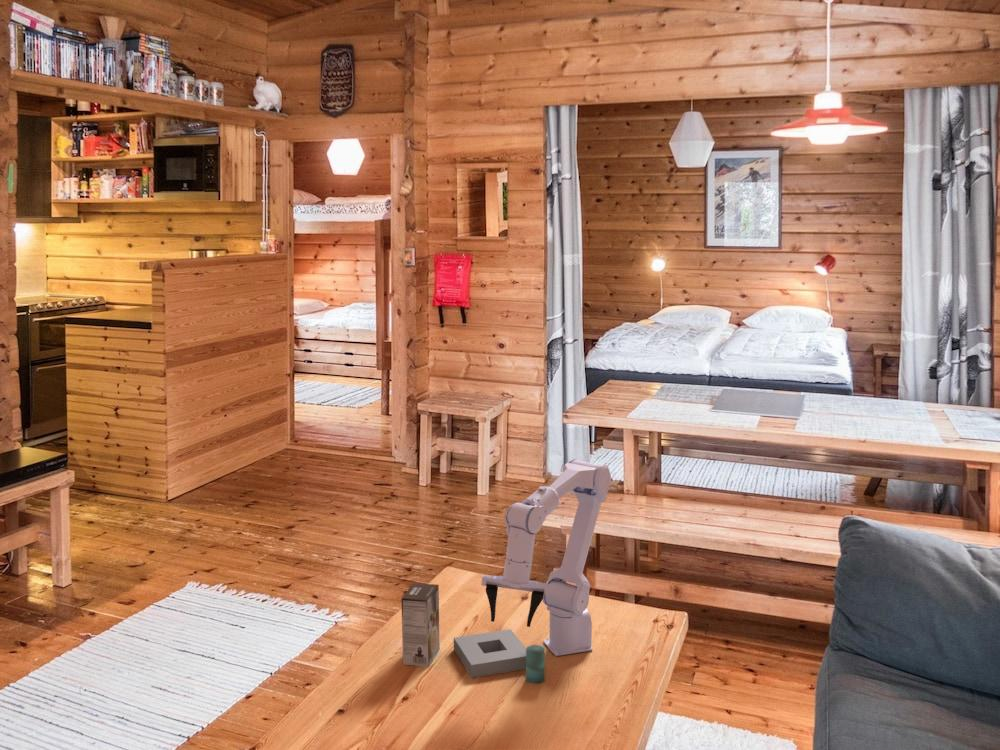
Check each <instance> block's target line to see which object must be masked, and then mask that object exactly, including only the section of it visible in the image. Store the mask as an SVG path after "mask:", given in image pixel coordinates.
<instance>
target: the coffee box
mask: <svg viewBox="0 0 1000 750" xmlns="http://www.w3.org/2000/svg"><path fill="white" fill-rule="evenodd" d="M439 586H440V584H434V583H433V584H431V583H430V584H429V583H415V582H413V583H411V585H410V586H409V587H408V589H407V590H406V592H405V593H404V594H403V596H402V597H401V598H400V600H401V635H402V637H401V638H402V641H401V642H402V664H403V665H404V664H405V665H406V666H414V665H415V667H426V668H429V667H430V665H431V664H432V662H433V661H434V659H435V658H436V655H437V654H438V652H439V651H440V649H441V648H440V603H439V602H440V600H439V599H440V597H439V595H440V594H439V591H440V590H439ZM405 665H404V666H405Z"/></svg>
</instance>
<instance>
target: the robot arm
mask: <svg viewBox="0 0 1000 750" xmlns="http://www.w3.org/2000/svg"><path fill="white" fill-rule="evenodd" d="M610 472H611V471H610V469H609V467H608V465H606V464H601V463H600V464H599V463H594V462H593V463H592V462H589V461H583V460H577V459H576V458H571V459H569V460H568V461H567V462H566V463H565V464H564V466H563V469H562V473H561V474H560V475H559V476H558V477H557V478H556V479H555V480H554V481H553V483H551V484H550V485H549V486H546V485H540V486H539V487H538V488H537V490H536V491H534V492H533V493H532V494H530V495H529V496H528V497H527V498H525V499H524V500H522V502H515V503H513V504H511V505H510V506H509V507H508V509H507V511H506V514H505V515H504V522H505V525H506V531H505V532H506V536H507V537H508V538H507V545H506V553H505V561H504V567H503V575H502V576H501V575H489V574H482V577H481V584H480V585H481V586H483V587H485V593H486V594H485V595H486V596H487V600H488V604H489V609H490V622H491V623H493V622H495V620H496V619H495V618H496V612H497V611H496V606H497V598H498V592H499V588H502V589H509V590H517V591H524V592H531V595H530V596H531V597H530V598H531V599H530V605H529V611H528V616H527V622H526V627H529V628H530V627H531V623H532V621H533V618H534V616H535V613H536V611H537V609H538V607H539V606H540V605H541V603H542V601H543V604H544V605H545V606H546V610H547V611H549V638H546V639H545V638H544V639H543V641H542V642H543V643H544V644H545V645H546V647H547V648H548V649H549V651H550V652H551V653H552V654H553V655H554V656H556V657H560V656H565V655H566V656H567V655H570V654H577V653H584V652H589V651H593V647H592V637H593V636H592V629H593V628H592V625H593V623H592V617H591V614H590V611H589V609H588V606H589V601H590V589H591V583H590V581H589V580H588V579H587V577H586V576H585V574H584V573H583V572H584V568H585V565H586V562H587V557H588V554H589V550H590V547H591V543H592V539H593V535H594V532H595V527H596V525H597V521H598V517H599V513H600V511H601V510H600V509H601V506H602V504H603V503H605V502H606V501H607V500H606V499H607V497H608V492H609V489H610V486H611V482H612V475H611V473H610ZM570 492H571V494H572V495H573V496H574V497H576V499H577V502H578V503H577V504H578V505H577V508H576V511H575V515H574V518H573V523H572V526H571V530H570V533H569V537H568V540H567V544H566V548H565V551H564V556H563V559H562V562H561V566H560V567H558V568H557V569H555V570H552V571H551V572H549V575H548V576H549V577H548V579H547V581H546V582H540V581H536V580H531V579H530V578H531V574H532V573H531V572H532V565H533V556H534V548H535V540H536V534H537V533H538V532H540V530H541V529H542V527H543V524H544V522H545V521H546V518H547V516H549V515H550V514H551V513H553V512H554V510H555V509H557V508H558V507H559V504H560V499H561V498H563V497H564V496H566V495H567V494H569V493H570ZM566 582H567V583H566ZM568 582H569V583H568ZM571 583H573V584H571ZM574 584H575V585H574Z"/></svg>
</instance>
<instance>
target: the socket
mask: <svg viewBox="0 0 1000 750" xmlns="http://www.w3.org/2000/svg"><path fill="white" fill-rule="evenodd" d="M526 648H527V647H526V646H525V645H524V644H523V642H521V640H520V639H519V637H517V636H516V634H515V633H514V631H513V630H512V629H511V628H510V629H502V630H496V631H490V632H483V633H477V634H469V635H463V636H457V637H453V651H454V652H455V654H456V655H457V657H458V659H459V660H460V662H461V663H462V665H463V666H464V668H465V670H466V671H467V673H468V674H469V676H470V678H471V679H472V678H473V679H474V678H478V677H479V678H480V677H486V676H492V675H497V674H503V673H509V672H514V671H520V670H521V671H522V670H526Z"/></svg>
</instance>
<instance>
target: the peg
mask: <svg viewBox="0 0 1000 750" xmlns="http://www.w3.org/2000/svg"><path fill="white" fill-rule="evenodd" d="M525 648H526V669H525V673H526V674H525V680H526V681H527V683H529V684H532V683H533V684H534V683H535V684H534V685H539V684H543V683H544V682H545V679H546V678H545V677H546V675H545V671H546V670H545V669H546V668H545V667H546V663H545V662H546V659H545V658H546V657H545V655H546V654H545V653H546V652H545V651H546V648H545V647H544V646H543V645H538V644H532V645H531V644H530V645H528V646H527V647H525ZM543 681H544V682H543Z"/></svg>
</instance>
